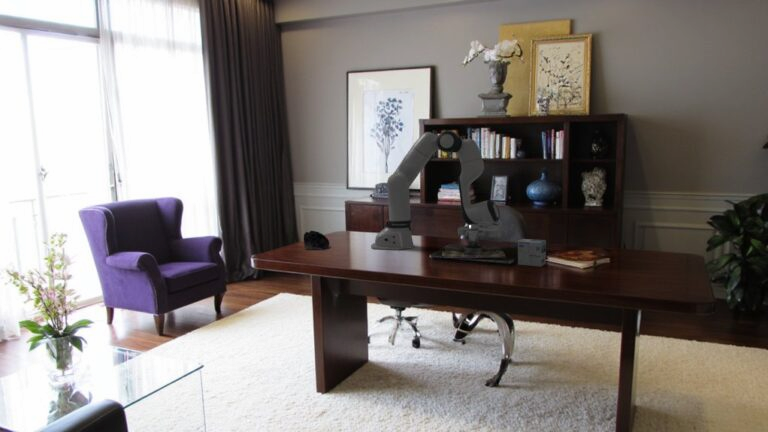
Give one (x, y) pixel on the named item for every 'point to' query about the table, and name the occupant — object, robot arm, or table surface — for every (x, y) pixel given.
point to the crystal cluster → (315, 241)
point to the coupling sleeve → (473, 235)
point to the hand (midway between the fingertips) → (472, 234)
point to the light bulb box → (532, 252)
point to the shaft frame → (473, 251)
